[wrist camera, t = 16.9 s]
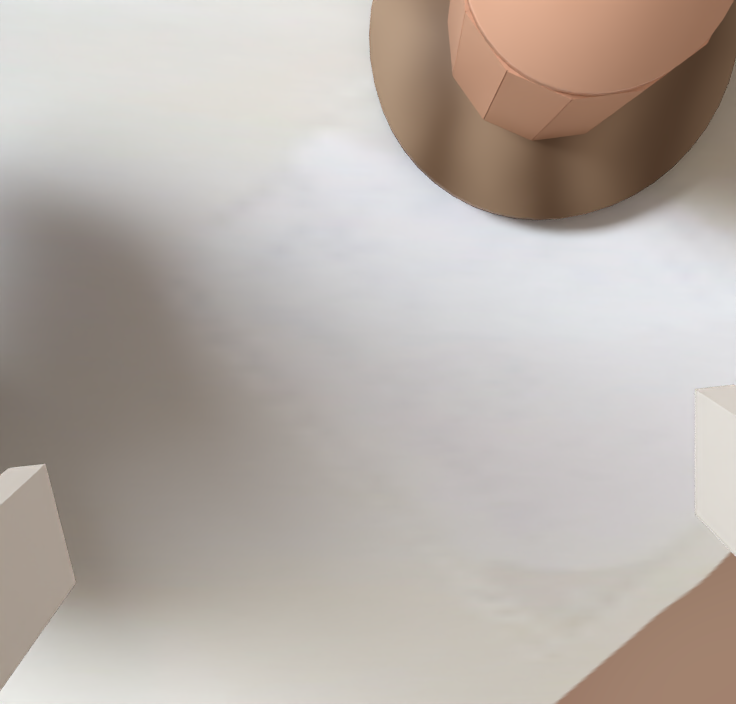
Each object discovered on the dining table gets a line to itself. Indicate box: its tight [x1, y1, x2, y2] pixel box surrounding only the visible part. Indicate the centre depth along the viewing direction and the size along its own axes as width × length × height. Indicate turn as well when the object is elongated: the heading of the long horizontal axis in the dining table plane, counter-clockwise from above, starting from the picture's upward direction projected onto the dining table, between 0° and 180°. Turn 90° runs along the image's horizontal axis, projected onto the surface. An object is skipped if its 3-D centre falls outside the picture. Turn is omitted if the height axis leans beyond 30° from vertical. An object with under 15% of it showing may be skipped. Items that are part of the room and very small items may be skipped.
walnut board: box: [369, 0, 736, 220], centre depth 39 cm, size 20×20×2 cm
